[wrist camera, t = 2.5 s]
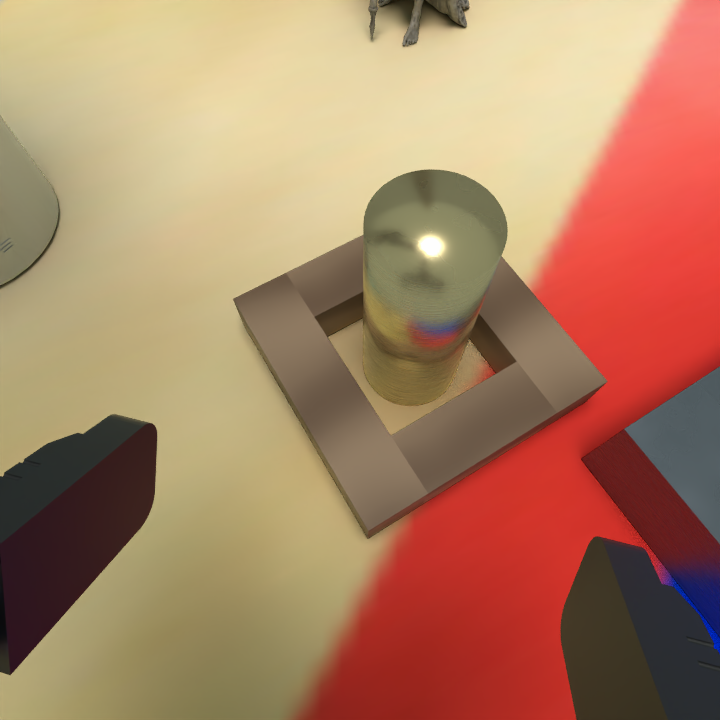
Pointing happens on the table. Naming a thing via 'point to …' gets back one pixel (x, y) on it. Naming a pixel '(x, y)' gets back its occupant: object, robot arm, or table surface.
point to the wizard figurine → (447, 3)
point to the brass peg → (425, 279)
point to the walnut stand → (438, 428)
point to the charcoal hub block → (673, 487)
